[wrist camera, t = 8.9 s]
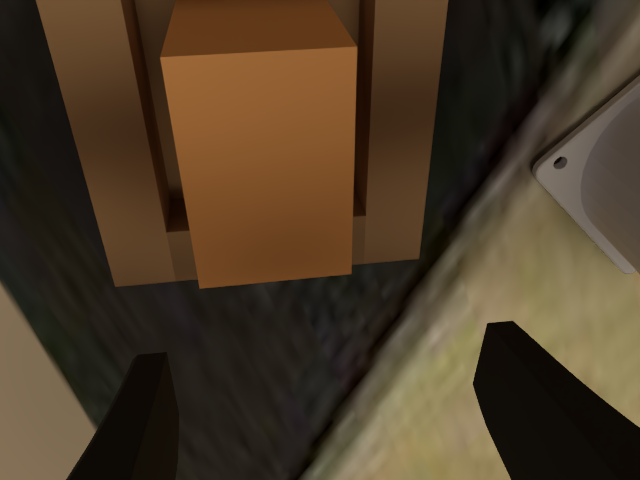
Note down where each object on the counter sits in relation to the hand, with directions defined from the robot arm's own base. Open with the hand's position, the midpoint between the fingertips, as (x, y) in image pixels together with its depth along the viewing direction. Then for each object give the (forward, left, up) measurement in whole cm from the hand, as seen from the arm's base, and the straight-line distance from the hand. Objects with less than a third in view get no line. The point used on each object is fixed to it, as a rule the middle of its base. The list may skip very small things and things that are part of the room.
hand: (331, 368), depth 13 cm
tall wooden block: (-2, -3, -9) cm, 10 cm away
